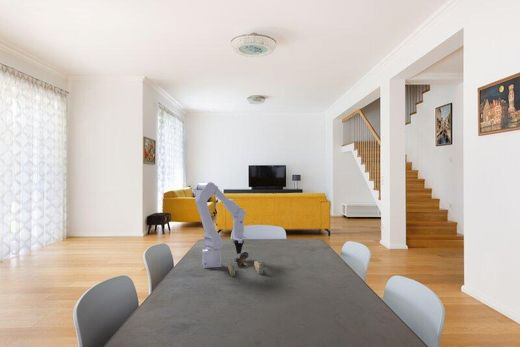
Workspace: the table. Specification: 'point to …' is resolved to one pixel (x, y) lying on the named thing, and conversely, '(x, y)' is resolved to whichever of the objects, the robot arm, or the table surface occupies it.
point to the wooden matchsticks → (256, 264)
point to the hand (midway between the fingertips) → (238, 253)
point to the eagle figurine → (241, 259)
